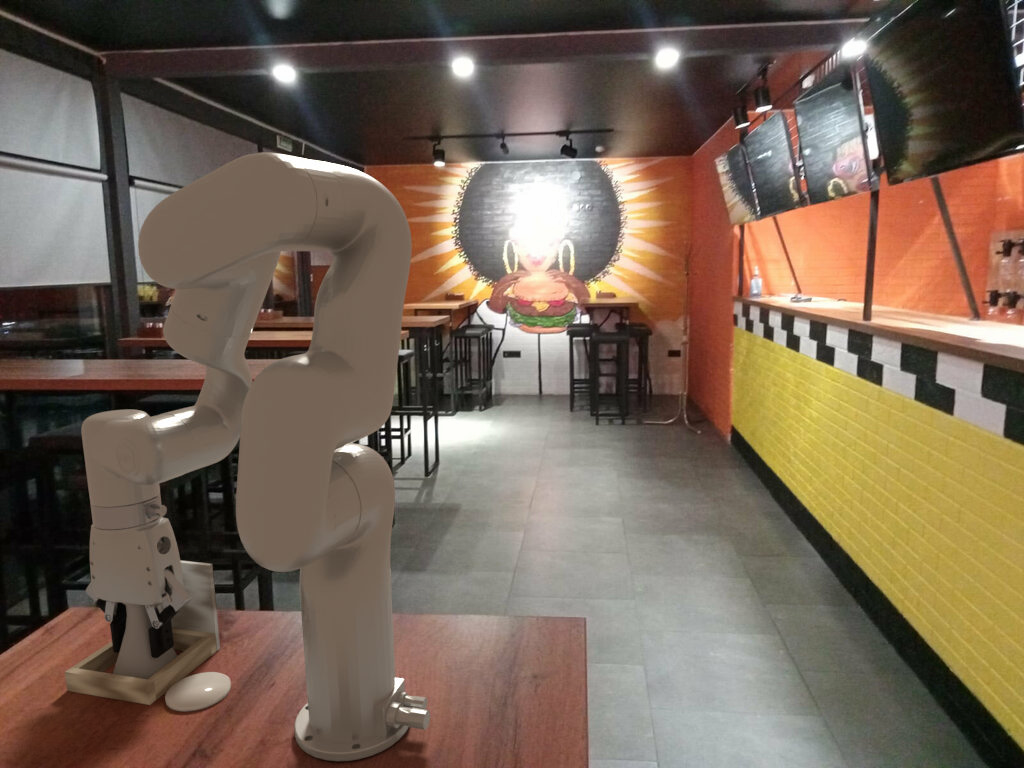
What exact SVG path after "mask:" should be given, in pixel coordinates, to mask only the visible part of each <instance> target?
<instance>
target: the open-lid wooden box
mask: <svg viewBox="0 0 1024 768" xmlns="http://www.w3.org/2000/svg"><path fill="white" fill-rule="evenodd" d="M180 561H181V567H182V574H183V588H184V589H185V590H186V592H187V593H188V594H189V596H190V597H191V600H190V601H189V602H188V603H187V604H186V605H185V606H184V607H182V608H181V609H180V610H179V611H178V613H177V614H176V615H175V617H174V618H173V619H171V624H172V633H173V642H174V645H173V647H172V648H173V649H174V651H182V652H181V653H180V654H179V655H177V657H176V658H175V659H173V660H172V661H171V662H169V663H168V664H167V665H165V666H164V667H163V668H161V669H160V670H159V671H157V672H156V673H155V674H153V675H152V676H151V677H150V678H148V679H141V678H135V677H128V676H122V675H116V674H113V673H111V672H110V673H108V672H106V670H109V668H111V667H112V666H113V665H114V666H115V665H116V662H117V659H118V655H119V653H117V652H114V651H113V644H112V640H111V641H110V642H108V643H107V644H105V645H104V646H102V647H100V648H99V649H97V650H96V651H95V652H93V653H92V654H90V655H89V656H87V657H85V658H84V659H82V660H81V661H79V662H77V663H75V664H74V665H73V666H72V667H70V668H68V669H67V670H65V671H64V678H65V679H64V680H65V685H66V691H67V692H72V693H77V694H84V695H90V696H94V697H100V698H108V699H112V700H113V699H114V700H120V701H125V702H131V703H136V704H142V705H147V706H151V705H152V704H153V703H154V702H156V701H157V700H158V699H159V698H161V697H162V696H163V695H165V694H166V692H167V691H168V689H169V688H170V687H171V686H172V685H174V684H175V683H177V682H178V681H180V680H182V679H184V678H186V677H188V675H189V674H190V673H192V672H193V671H194V670H195V669H197V668H198V667H199V666H200V665H201V664H203V663H204V662H205V661H206V660H207V659H209V658H210V657H211V656H213V655H214V654H215V653H216V652H217V651H220V649H221V644H220V643H221V641H220V633H219V622H218V620H219V619H218V610H217V601H216V592H215V591H216V590H215V580H214V570H213V569H214V567H213V563H208V562H201V561H200V562H197V561H189V560H181V559H180ZM169 597H170V595H169ZM170 600H171V602H172V598H171V597H170ZM157 607H158V610H159V613H161V612H162V611H163V610H162V607H161V604H159V605H158V606H157Z"/></svg>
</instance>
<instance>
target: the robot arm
mask: <svg viewBox="0 0 1024 768" xmlns="http://www.w3.org/2000/svg"><path fill="white" fill-rule="evenodd" d="M137 242H138V243H137V247H138V249H137V250H138V256H139V260H140V264H141V266H142V268H143V270H144V271H145V273H146V275H147V276H148V277H149V278H150V279H151V280H152V281H154V282H155V283H157V284H158V285H160V286H163V287H165V288H167V289H174V290H175V292H174V296H173V298H172V301H171V304H170V308H169V310H168V313H167V316H166V319H165V321H164V325H163V327H162V328H163V329H162V330H163V331H162V332H163V338H164V340H165V342H166V344H168V345H169V347H170V348H171V349H172V350H174V351H175V352H176V353H177V354H179V355H180V356H182V357H183V358H186V359H187V360H189V361H192V362H194V363H197V364H199V365H202V366H205V378H204V381H203V385H202V387H201V390H200V393H199V395H198V397H197V400H196V402H195V404H194V405H192V406H188V407H183V408H179V409H175V410H171V411H168V412H163V413H160V414H157V415H153V416H150V414H148V413H147V412H146V411H143V410H138V409H132V408H131V409H128V408H127V409H116V410H107V411H101V412H98V413H94V414H92V415H89V416H88V417H87V418H85V419H84V420H83V422H82V424H81V430H80V431H81V440H82V441H81V442H82V448H83V449H82V450H83V455H84V457H83V458H84V463H85V473H86V479H87V487H88V494H89V496H88V497H89V501H90V511H91V519H92V524H91V525H90V536H89V567H90V569H89V572H90V577H91V578H90V579H91V580H90V582H89V584H88V586H86V589H85V593H86V595H88V596H89V598H90V599H91V600H93V601H94V602H95V603H96V605H97V607H98V608H99V609H100V610H101V611H102V612H103V613H104V620H105V622H107V623H110V624H109V626H110V635H111V636H110V637H111V641H112V644H113V651H114V652H117V653H119V652H120V648H121V645H122V641H123V637H124V633H125V630H126V619H127V611H126V605H124V604H123V603H128V604H136V605H145V607H146V610H147V613H148V615H149V618H150V621H151V624H152V627H151V628H149V630H148V632H149V641H150V649H151V656H152V657H153V658H158V657H160V656H161V655H162V654H164V653H165V652H167V651H168V650H169V649H171V648H172V647H173V645H174V642H173V633H172V624H171V619H173V618H174V617H175V615H176V614H177V613H178V611H179V610H180V609H181V608H182V607H184V606H185V605H186V604H187V603H188V602H189V601H190V600H191V597H190V596H189V594H188V593H187V592H186V590H185V589H184V588H183V574H182V567H181V561H182V560H181V558H180V551H179V547H178V543H177V540H176V536H175V533H174V530H173V527H172V525H171V522H170V520H169V518H167V517H164V516H166V514H167V512H168V511H167V510H168V507H167V506H166V505H164V504H162V498H161V486H160V484H162V483H165V482H168V481H170V480H173V479H175V478H179V477H182V476H183V475H185V474H188V473H191V472H194V471H196V470H199V469H202V468H205V467H208V466H211V465H214V464H216V463H219V462H220V461H222V460H224V459H225V458H226V457H228V456H229V454H230V453H231V452H232V451H233V450H234V448H235V447H236V446H237V444H238V442H239V446H238V447H239V448H238V449H239V450H238V463H237V478H236V479H237V480H236V495H235V518H236V520H235V521H236V527H237V532H238V536H239V538H240V542H241V544H242V545H243V548H244V550H245V551H246V553H247V554H248V556H249V557H250V558H251V559H252V560H253V561H254V562H255V563H256V564H257V565H259V566H260V567H262V568H263V569H264V568H265V569H266V570H268V571H272V572H278V573H287V572H293V571H297V570H299V597H300V611H301V612H300V613H301V625H302V627H301V629H302V640H303V652H304V653H303V654H304V656H303V657H304V669H305V681H306V695H307V696H306V697H307V703H306V704H304V705H303V707H302V708H301V709H300V710H299V712H298V713H297V716H296V718H295V721H294V725H293V726H294V737H295V741H296V743H297V745H298V746H299V748H300V749H301V750H302V751H303V752H305V753H306V754H308V755H309V756H312V757H314V758H316V759H320V760H324V761H330V762H350V761H351V762H352V761H357V760H361V759H365V758H368V757H372V756H374V755H377V754H379V753H381V752H383V751H385V750H387V749H389V748H390V747H392V746H393V745H394V744H395V743H397V742H398V741H400V739H402V737H403V736H404V735H405V734H406V733H407V731H408V729H409V728H410V729H412V728H414V729H418V730H427V729H428V727H429V724H430V721H431V720H430V719H431V711H430V710H429V709H427V707H428V698H427V697H425V696H418V695H414V696H413V695H409V694H408V692H405V690H406V689H405V688H406V687H405V679H404V678H403V677H401V678H400V677H396V662H395V660H396V659H395V639H394V622H393V619H394V618H393V602H392V601H393V600H392V599H393V598H392V577H391V576H392V575H391V572H392V569H391V547H392V546H391V545H392V543H391V541H392V530H393V524H394V523H393V522H394V515H395V506H396V488H395V487H396V486H395V480H394V475H393V473H392V470H391V468H390V465H389V464H388V463H387V461H386V460H385V458H384V457H383V456H382V455H381V454H380V453H378V451H376V450H375V449H373V448H371V447H369V446H366V445H365V444H360V443H355V442H357V441H360V440H361V439H364V438H367V437H368V436H370V435H371V434H374V433H375V432H377V431H378V430H380V428H382V427H383V426H384V425H385V424H386V422H387V421H388V419H389V417H390V415H391V412H392V408H393V403H394V396H395V388H396V379H397V378H396V377H397V371H398V363H399V355H400V344H401V337H402V322H403V313H404V305H405V297H406V292H407V286H408V281H409V275H410V269H411V260H412V250H413V249H412V247H413V246H412V243H413V242H412V235H411V229H410V224H409V221H408V218H407V215H406V213H405V211H404V209H403V207H402V205H401V204H400V202H399V201H398V199H397V198H396V196H394V194H393V193H392V192H391V191H390V190H389V189H388V188H387V187H386V186H385V185H384V184H383V183H381V182H380V181H378V180H377V179H375V178H374V177H373V176H370V175H369V174H367V173H365V172H362V171H360V170H359V169H356V168H352V167H350V166H347V165H346V166H345V165H344V164H343V165H342V164H338V163H334V162H333V163H332V162H328V161H322V160H318V159H317V160H316V159H308V158H306V157H305V158H304V157H299V156H294V155H289V154H286V153H285V154H283V153H278V152H277V153H276V152H269V151H268V152H264V151H263V152H255V153H250V154H245V155H242V156H240V157H237V158H235V159H233V160H232V161H229V162H227V163H225V164H223V165H222V166H220V167H218V168H217V169H214V170H212V171H211V172H209V173H207V174H205V175H203V176H202V177H200V178H198V179H196V180H194V181H192V182H190V183H189V184H187V185H185V186H183V187H181V188H180V189H177V190H176V191H174V192H172V193H171V194H169V195H168V196H166V197H165V198H164V199H162V200H161V201H159V203H157V204H156V205H155V206H154V207H153V208H152V210H150V212H149V213H148V214H147V216H146V218H145V219H144V221H143V224H142V226H141V228H140V232H139V235H138V241H137ZM281 252H326V253H329V254H330V255H331V257H332V260H331V263H330V266H329V268H328V269H327V271H326V273H325V275H324V277H323V278H322V281H321V284H320V286H319V288H318V291H317V294H316V298H315V304H314V310H313V311H314V312H313V313H314V314H313V327H312V334H311V341H310V344H309V347H308V350H307V351H306V352H305V353H304V352H303V353H300V354H295V355H291V356H287V357H283V358H281V359H278V360H276V361H273V362H272V363H270V364H268V365H267V366H265V367H264V368H263V369H262V370H261V371H260V372H258V374H257V375H256V377H255V378H254V379H253V377H252V372H251V369H250V366H249V363H248V361H247V359H246V356H245V352H246V348H247V345H248V342H249V340H250V338H251V335H252V332H253V329H254V326H255V323H256V321H257V319H258V316H259V314H260V311H261V308H262V306H263V303H264V301H265V298H266V295H267V292H268V289H270V285H271V283H272V279H273V278H274V275H275V272H276V269H277V266H278V264H279V260H280V257H281ZM180 560H181V561H180ZM169 595H170V597H171V598H172V602H171V600H170V597H169ZM159 604H161V607H162V610H163V611H162V612H161V613H159V610H158V607H157V606H158V605H159Z"/></svg>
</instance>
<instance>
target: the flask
mask: <svg viewBox="0 0 1024 768" xmlns="http://www.w3.org/2000/svg"><path fill="white" fill-rule="evenodd" d="M123 604H124V605H126V611H127V619H126V630H125V633H124V637H123V641H122V645H121V648H120V652H119V655H118V659H117V662H116V663H115V664H114V668H113V672H112V674H116V675H122V676H128V677H135V678H141V679H148V678H150V677H151V676H152V675H153V674H155V673H156V672H157V671H159V670H160V669H161V668H163V667H164V666H165V665H167V664H168V663H169V662H171V661H172V660H173V659H175V658H176V657H177V656H178V654H177V653H176V650H174V649H173V648H171V649H169V650H168V651H167V652H165V653H164V654H162V655H161V656H160V657H158V658H153V657H152V656H151V649H150V641H149V632H148V630H149V628H151V627H152V624H151V621H150V618H149V615H148V613H147V610H146V607H145V605H136V604H128V603H123Z"/></svg>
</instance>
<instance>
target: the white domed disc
mask: <svg viewBox="0 0 1024 768" xmlns="http://www.w3.org/2000/svg"><path fill="white" fill-rule="evenodd" d="M231 688H232V681H231V679H230V677H229V676H228V675H226V674H224V673H222V672H216V671H206V672H199V673H195V674H192V675H189V676H185V677H184V678H183V679H182V680H180V681H178V682H177V683H175V684H174V685H172V686H171V687H170V688H169V689H168V691H167V692H165V694H164V695H165V696H164V698H165V699H164V700H165V705H166V706H167V707H168V708H169V709H170V710H173V711H176V712H184V713H185V712H194V711H195V712H196V711H199V710H203V709H205V708H209V707H211V706H214V705H216V704H217V703H219V702H220V701H222V700H223V699H225V697H226V696H228V694H229V693H230V691H231Z"/></svg>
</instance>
